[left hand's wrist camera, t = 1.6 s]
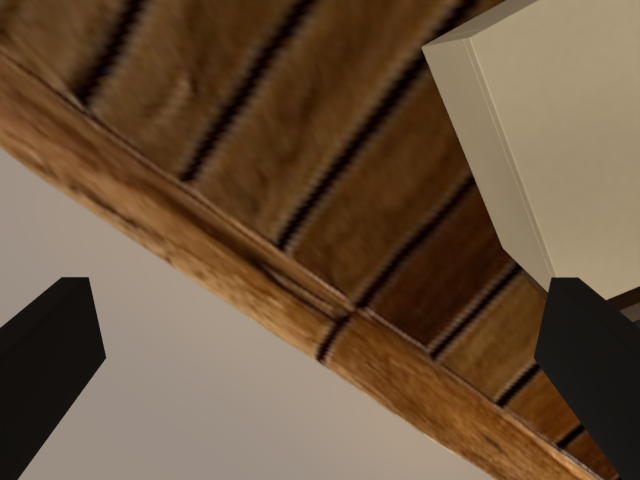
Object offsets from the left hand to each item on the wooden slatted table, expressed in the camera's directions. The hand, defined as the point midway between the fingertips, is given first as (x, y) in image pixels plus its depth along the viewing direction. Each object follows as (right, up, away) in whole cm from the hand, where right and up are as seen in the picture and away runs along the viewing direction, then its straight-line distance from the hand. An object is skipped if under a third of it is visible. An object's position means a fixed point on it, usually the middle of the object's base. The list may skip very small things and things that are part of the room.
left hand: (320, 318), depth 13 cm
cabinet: (+16, +11, +19) cm, 27 cm away
